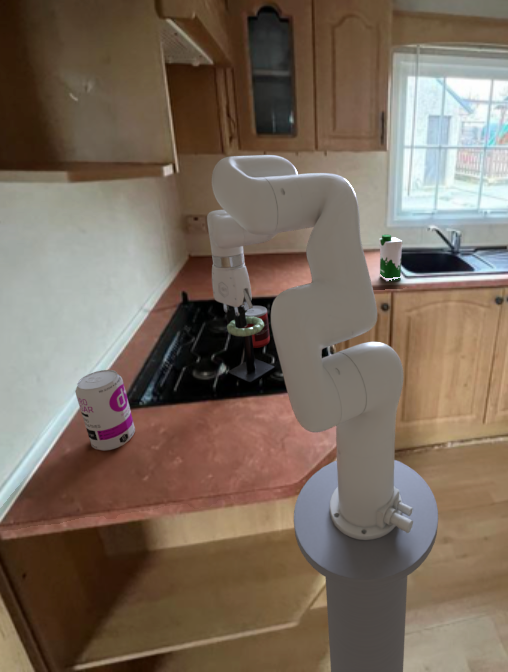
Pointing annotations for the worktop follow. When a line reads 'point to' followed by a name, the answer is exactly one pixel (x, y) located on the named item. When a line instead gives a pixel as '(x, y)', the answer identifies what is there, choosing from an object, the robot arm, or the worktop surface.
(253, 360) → the stand
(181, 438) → the worktop surface
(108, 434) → the supplement can
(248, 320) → the ring
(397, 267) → the milk carton
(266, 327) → the canned food
